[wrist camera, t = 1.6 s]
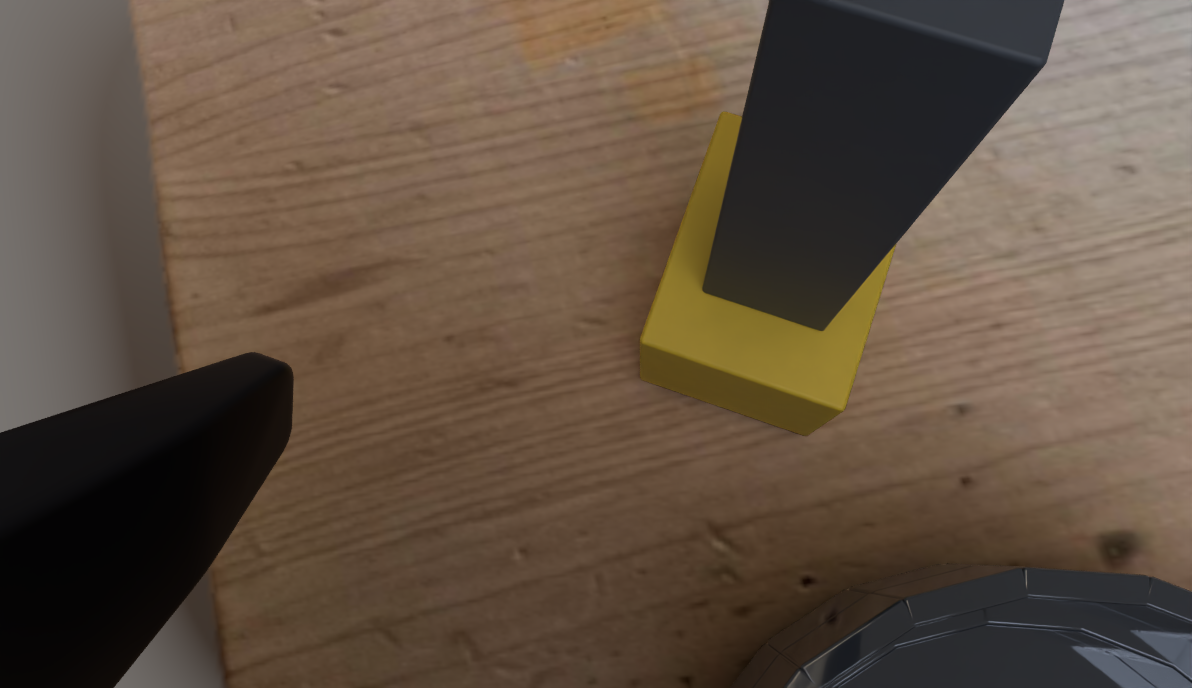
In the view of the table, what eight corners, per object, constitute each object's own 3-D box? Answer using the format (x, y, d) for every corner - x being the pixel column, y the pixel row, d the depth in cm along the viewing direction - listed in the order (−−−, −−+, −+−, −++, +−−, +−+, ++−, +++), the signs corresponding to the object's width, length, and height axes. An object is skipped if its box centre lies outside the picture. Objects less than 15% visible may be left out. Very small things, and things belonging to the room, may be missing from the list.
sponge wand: (807, 437, 21) (1106, 235, 8) (638, 379, 22) (634, 92, 8) (870, 236, 22) (1239, -267, 9) (707, 184, 23) (809, -371, 9)
